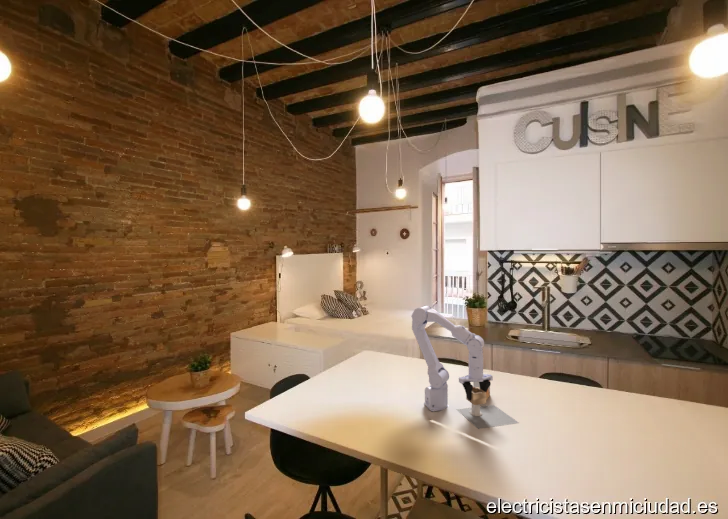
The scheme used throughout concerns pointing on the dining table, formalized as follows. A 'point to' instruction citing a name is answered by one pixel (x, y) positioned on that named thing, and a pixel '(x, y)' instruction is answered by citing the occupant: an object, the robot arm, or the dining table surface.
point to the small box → (476, 384)
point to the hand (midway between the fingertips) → (475, 398)
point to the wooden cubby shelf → (478, 396)
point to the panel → (486, 416)
